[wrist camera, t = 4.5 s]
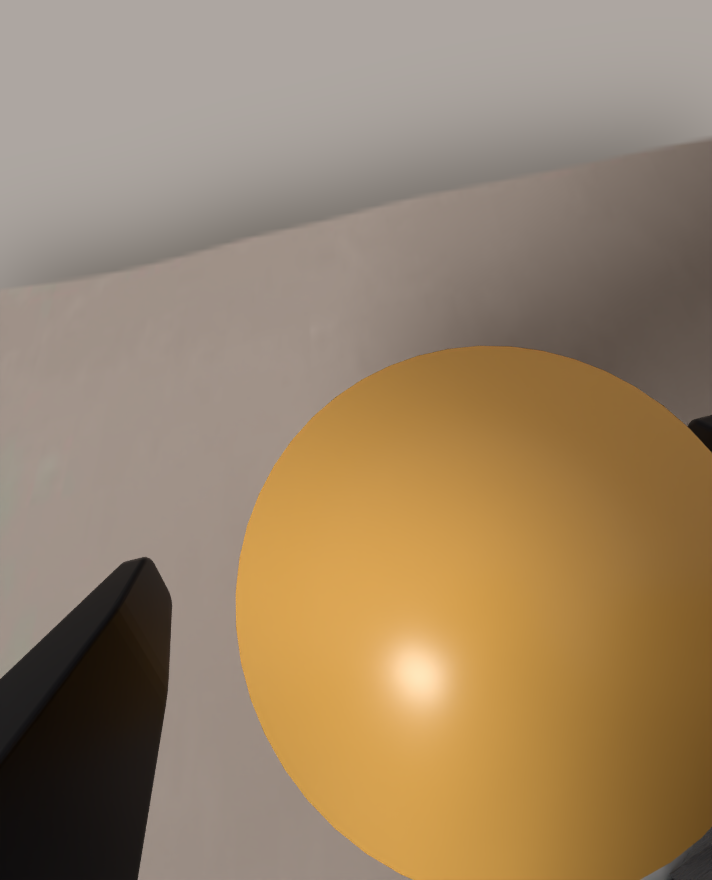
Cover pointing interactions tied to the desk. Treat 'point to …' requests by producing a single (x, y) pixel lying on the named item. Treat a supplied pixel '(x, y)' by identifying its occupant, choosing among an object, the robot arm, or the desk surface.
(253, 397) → the desk surface
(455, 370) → the domed yellow peg
